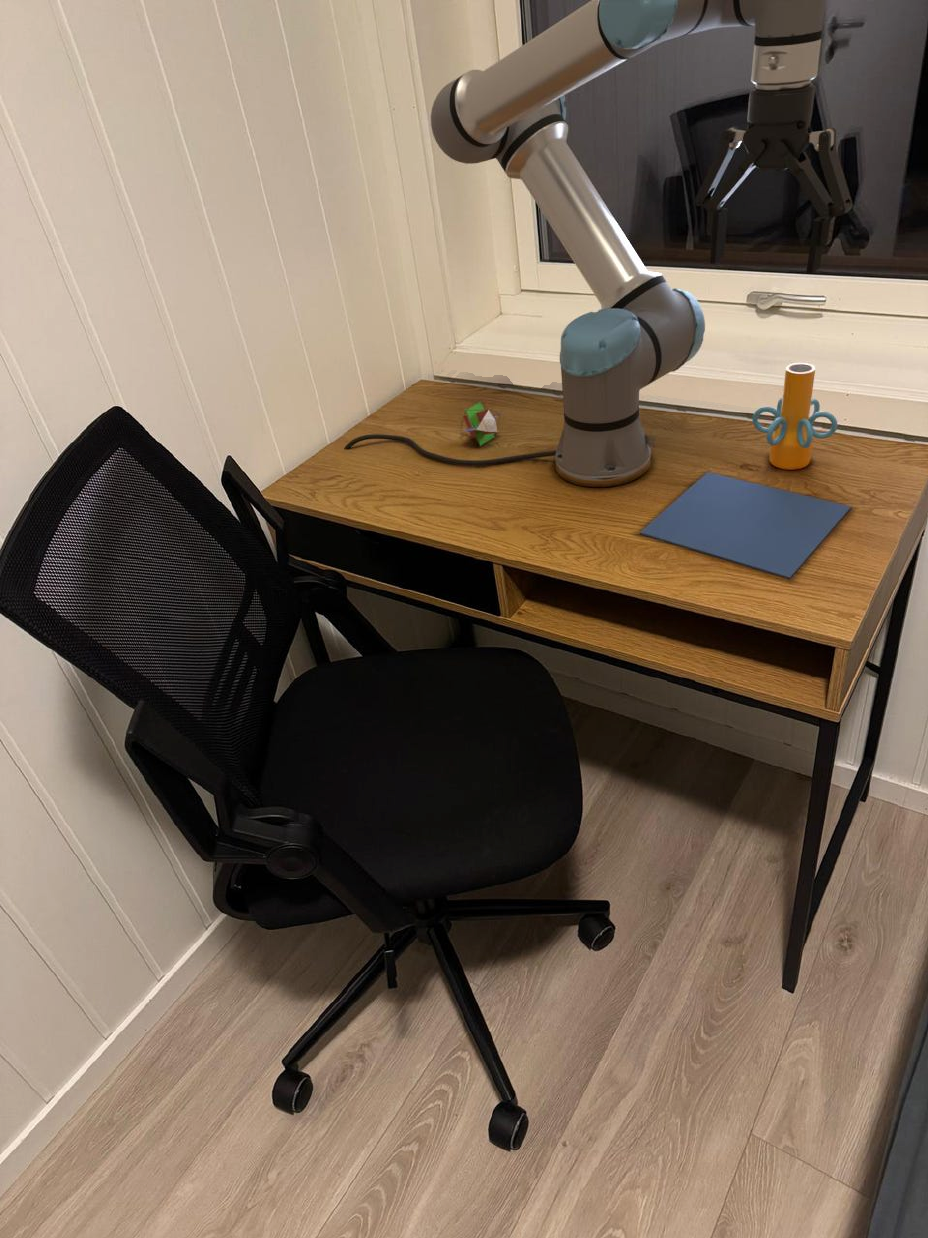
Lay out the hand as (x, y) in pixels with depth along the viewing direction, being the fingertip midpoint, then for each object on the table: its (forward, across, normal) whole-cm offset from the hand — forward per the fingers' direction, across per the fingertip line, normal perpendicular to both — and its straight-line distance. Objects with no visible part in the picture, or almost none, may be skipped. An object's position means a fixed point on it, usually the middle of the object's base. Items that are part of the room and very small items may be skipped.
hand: (763, 265), depth 116 cm
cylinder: (+30, +6, +2) cm, 30 cm away
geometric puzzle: (+31, -43, -12) cm, 54 cm away
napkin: (+29, +8, -17) cm, 35 cm away
